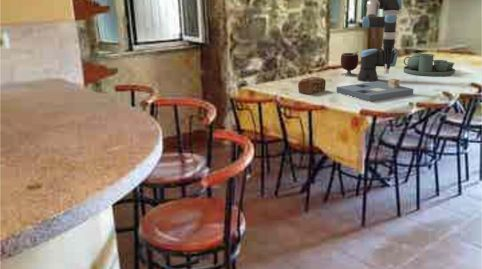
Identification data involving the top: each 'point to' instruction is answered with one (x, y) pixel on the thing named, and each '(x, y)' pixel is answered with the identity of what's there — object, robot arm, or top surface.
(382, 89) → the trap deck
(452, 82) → the top surface
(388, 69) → the robot arm
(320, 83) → the bread
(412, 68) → the tea set
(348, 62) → the mate gourd
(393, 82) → the maple block
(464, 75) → the top surface
